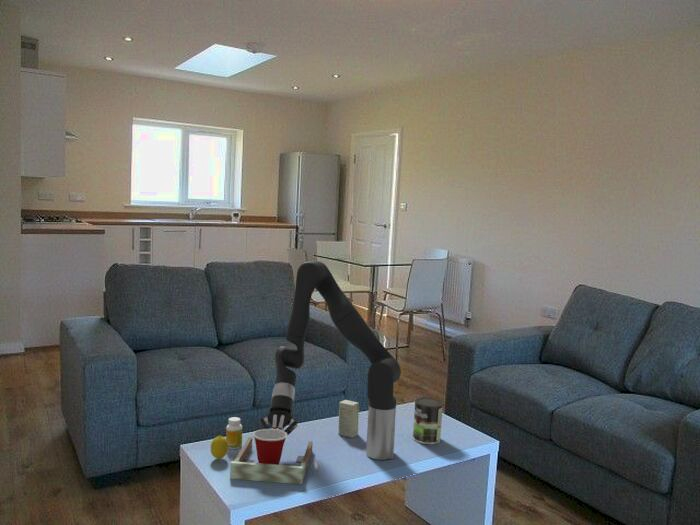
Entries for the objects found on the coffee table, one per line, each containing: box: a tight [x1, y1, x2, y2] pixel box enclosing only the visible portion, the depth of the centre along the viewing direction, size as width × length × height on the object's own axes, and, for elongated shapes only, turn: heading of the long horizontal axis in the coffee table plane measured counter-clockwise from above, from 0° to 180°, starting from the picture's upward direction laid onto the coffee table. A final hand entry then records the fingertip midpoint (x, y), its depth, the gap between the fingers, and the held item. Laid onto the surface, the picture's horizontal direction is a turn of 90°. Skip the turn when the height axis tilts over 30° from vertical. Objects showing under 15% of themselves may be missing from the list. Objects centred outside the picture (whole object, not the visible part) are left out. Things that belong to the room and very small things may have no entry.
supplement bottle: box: [225, 416, 243, 450], centre depth 206 cm, size 5×5×10 cm
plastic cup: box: [252, 428, 288, 465], centre depth 190 cm, size 11×11×12 cm
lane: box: [229, 436, 314, 485], centre depth 194 cm, size 22×24×5 cm
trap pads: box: [243, 455, 304, 464], centre depth 196 cm, size 22×6×1 cm, turn 106°
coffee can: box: [412, 396, 444, 445], centre depth 221 cm, size 10×10×14 cm
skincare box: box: [338, 399, 360, 439], centre depth 222 cm, size 6×4×12 cm
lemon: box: [210, 435, 229, 461], centre depth 196 cm, size 6×6×8 cm
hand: (274, 448), depth 195 cm, fingers closed
